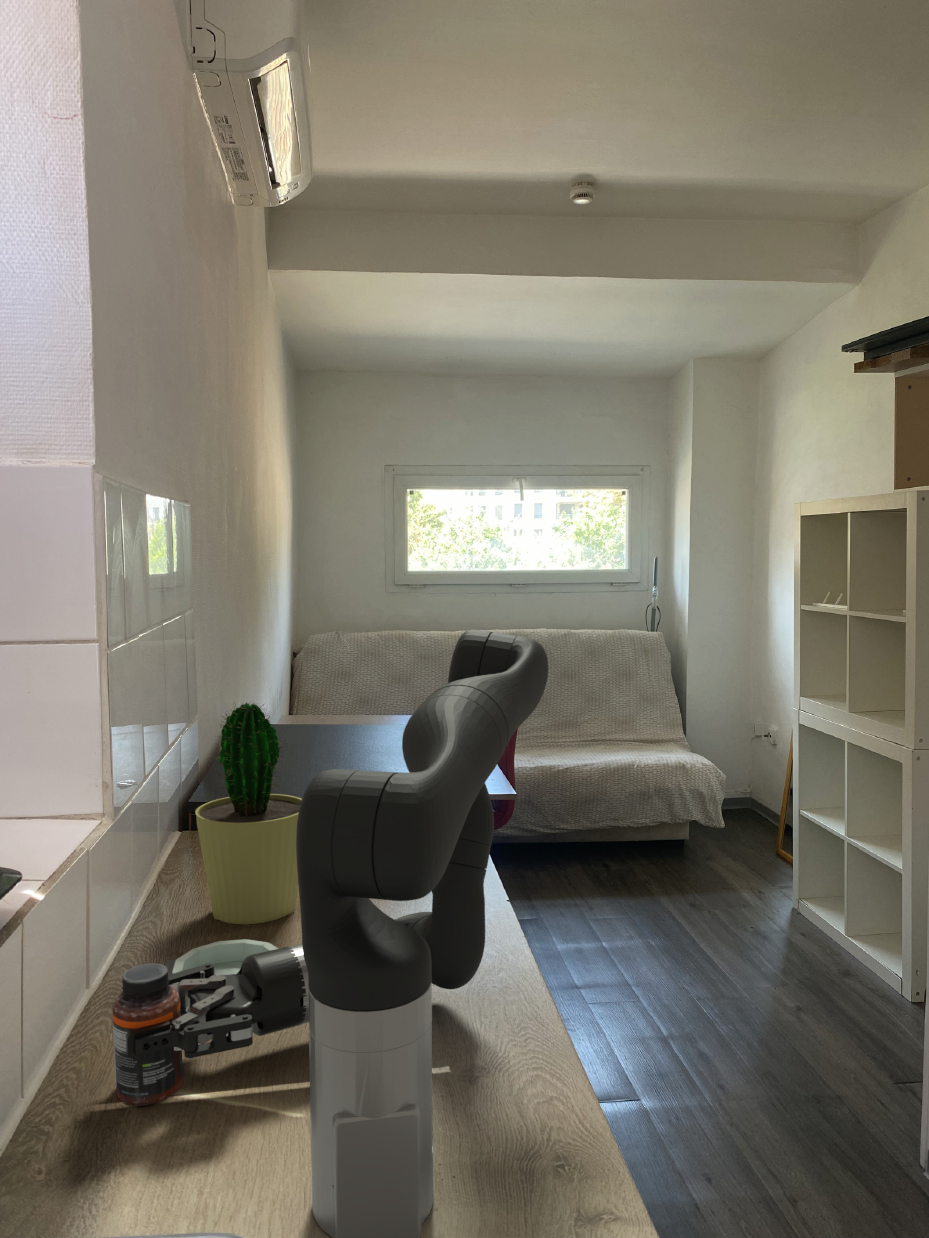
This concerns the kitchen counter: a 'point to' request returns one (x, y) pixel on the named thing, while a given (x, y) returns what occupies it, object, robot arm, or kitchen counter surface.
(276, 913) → the potted cactus
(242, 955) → the bowl
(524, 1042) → the kitchen counter surface
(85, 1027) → the kitchen counter surface
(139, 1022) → the supplement bottle
